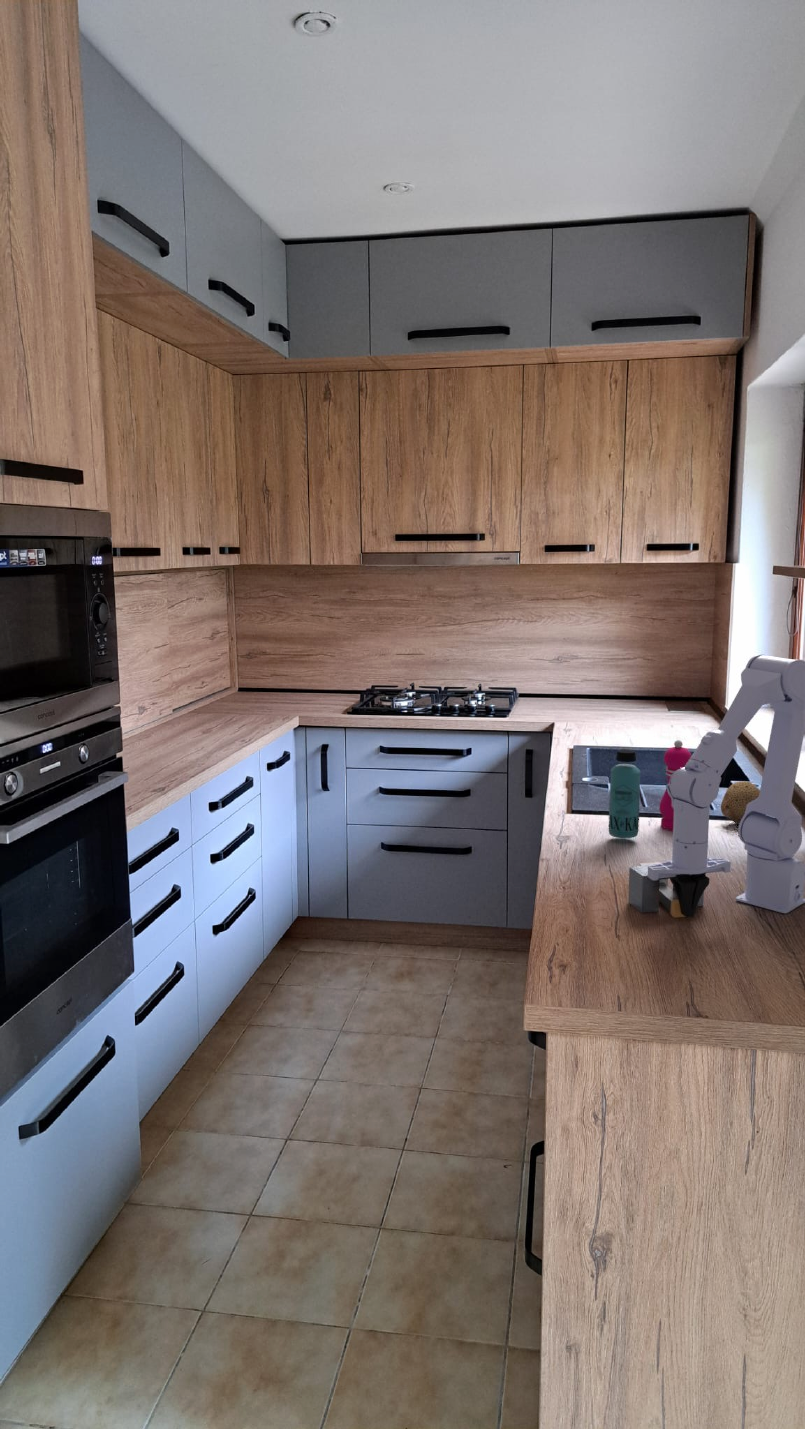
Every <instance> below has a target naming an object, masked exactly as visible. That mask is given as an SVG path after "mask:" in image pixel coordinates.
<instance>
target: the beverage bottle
mask: <svg viewBox="0 0 805 1429" xmlns="http://www.w3.org/2000/svg"><path fill="white" fill-rule="evenodd" d="M615 758H616V759H615V760H616V761H618V762H621V763H620V764H619V763H618V764H616V765H614V766H613V767H611V769H610V786H609V790H610V791H609V801H608V827H607V830H608V834H609V835H610V836H611V837H614V838H616V839H617V838H618V839H633V838H636V837H637V836H638V834H639V832H640V829H639V827H640V819H641V818H640V816H641V814H640V800H641V796H640V793H641V792H640V790H641V770H640V769H639V768H638V767H637V766H636V765H635V764H629V763H631V762H632V763H633V762H636V761H637V753H636V751H635V749H634V750H633V749H629V748H626V749H625V748H623V749H622V748H621V749H618V750H617V751H616V757H615Z"/></svg>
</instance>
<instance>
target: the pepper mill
mask: <svg viewBox="0 0 805 1429" xmlns="http://www.w3.org/2000/svg"><path fill="white" fill-rule="evenodd" d="M683 744H684V743H683V742H682V740H678V739H676V740H675V741H674V743H673V745H674V746H672V747H670V748H668V749H666V750H665V752H664V755H663V761H664V764H665V766H666V768H665V775H666V777H667V784H669V780H670V778H671V776H672V774H673V773H674V772H675V771H677V770H678V769H680V768H683V767H685V765H686V764H687V762H688V761H689V759H690V758H691V756H692V753H691V751H690V750H689V749H687V748H686V747H683ZM667 784H666V785H667ZM659 812H660V814H661V815H662V818H661V819H660V827H661V828H662V829H663V830H666V831H672V832H673V822H674V809H673V807H672V799H671V797H670V796H669V794H668V792H667V787H666V789H665V790H664V794H663V795H662V797H661V799H660V802H659Z"/></svg>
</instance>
